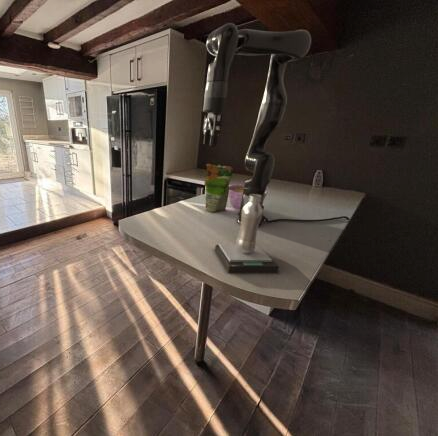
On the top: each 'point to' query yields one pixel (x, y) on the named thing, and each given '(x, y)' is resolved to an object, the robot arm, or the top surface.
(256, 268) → the scale
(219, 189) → the pouch
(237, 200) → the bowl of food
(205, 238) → the top surface
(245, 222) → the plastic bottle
